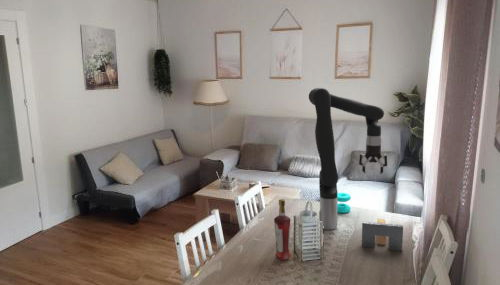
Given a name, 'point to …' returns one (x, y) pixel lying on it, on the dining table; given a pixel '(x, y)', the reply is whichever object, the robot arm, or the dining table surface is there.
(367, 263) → the dining table surface
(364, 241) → the plate
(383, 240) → the plug
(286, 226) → the liquor
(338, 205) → the donuts
